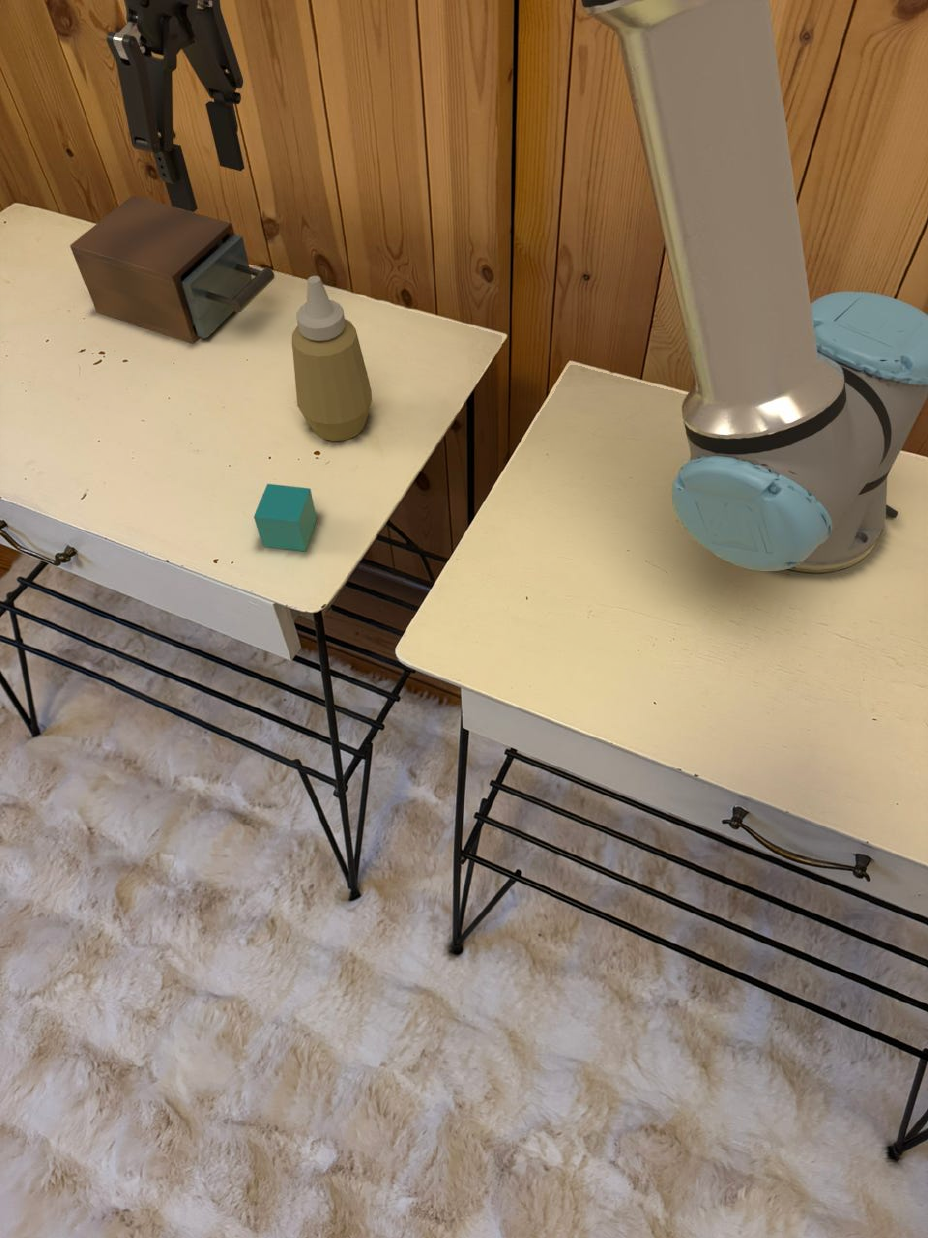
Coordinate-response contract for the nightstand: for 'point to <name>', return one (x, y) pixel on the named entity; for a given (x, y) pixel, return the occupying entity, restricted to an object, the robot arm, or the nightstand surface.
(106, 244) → the drawer cabinet
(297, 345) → the squeeze bottle
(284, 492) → the teal rectangular block
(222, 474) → the nightstand surface
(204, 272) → the grey drawer
